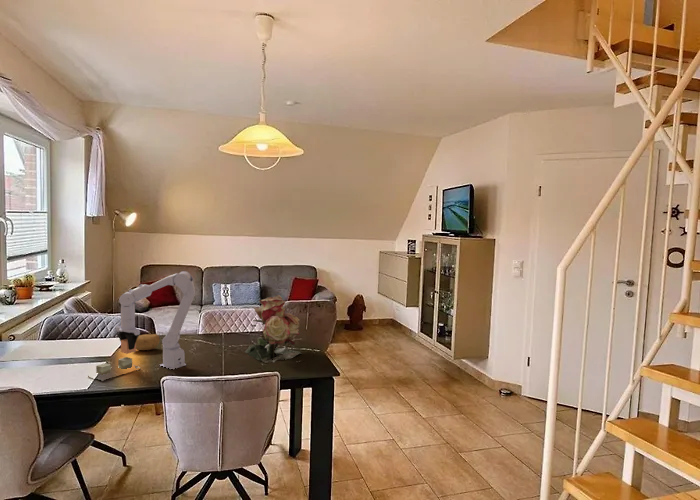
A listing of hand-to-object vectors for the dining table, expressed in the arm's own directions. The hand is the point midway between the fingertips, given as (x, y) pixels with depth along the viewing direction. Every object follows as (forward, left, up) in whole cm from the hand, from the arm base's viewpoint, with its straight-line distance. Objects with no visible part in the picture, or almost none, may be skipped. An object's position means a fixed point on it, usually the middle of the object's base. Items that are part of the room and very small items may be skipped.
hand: (128, 348), depth 203 cm
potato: (+16, -20, -9) cm, 27 cm away
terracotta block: (0, 0, -2) cm, 2 cm away
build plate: (-2, +8, -9) cm, 12 cm away
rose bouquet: (-42, -53, -9) cm, 69 cm away
